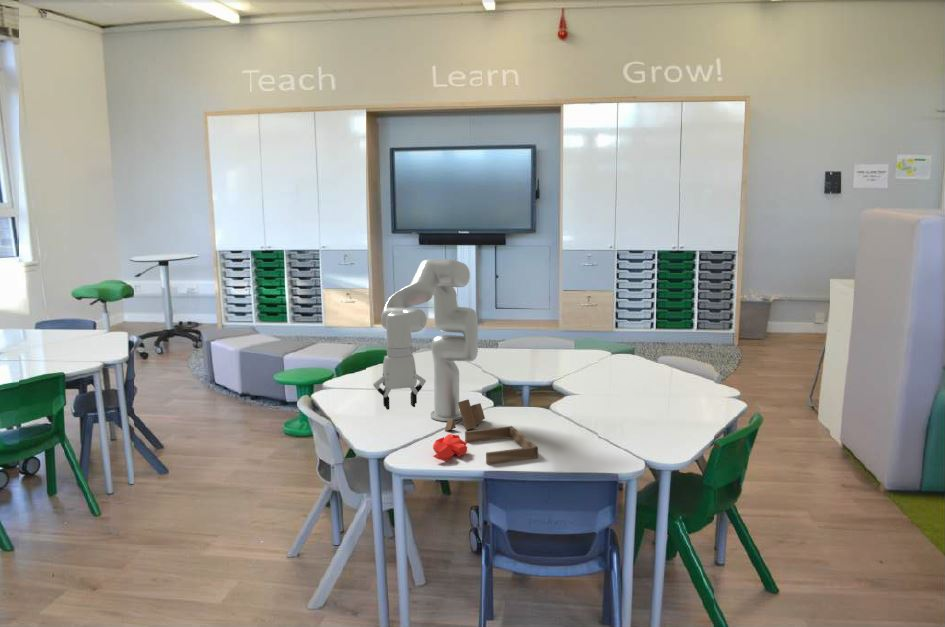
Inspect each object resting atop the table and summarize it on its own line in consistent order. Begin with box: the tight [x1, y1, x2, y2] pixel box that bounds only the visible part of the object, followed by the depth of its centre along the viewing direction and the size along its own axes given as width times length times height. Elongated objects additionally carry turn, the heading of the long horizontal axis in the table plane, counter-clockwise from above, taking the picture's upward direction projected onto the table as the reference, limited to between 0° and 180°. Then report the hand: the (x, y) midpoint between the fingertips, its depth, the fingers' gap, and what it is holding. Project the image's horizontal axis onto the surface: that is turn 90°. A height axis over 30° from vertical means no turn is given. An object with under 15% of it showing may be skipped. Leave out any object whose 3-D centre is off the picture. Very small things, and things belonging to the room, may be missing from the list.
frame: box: [464, 425, 539, 465], centre depth 231 cm, size 22×17×4 cm
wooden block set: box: [444, 398, 486, 432], centre depth 254 cm, size 18×9×10 cm, turn 141°
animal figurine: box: [432, 433, 468, 462], centre depth 225 cm, size 12×15×5 cm
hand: (400, 406), depth 218 cm, fingers open, 7 cm apart
